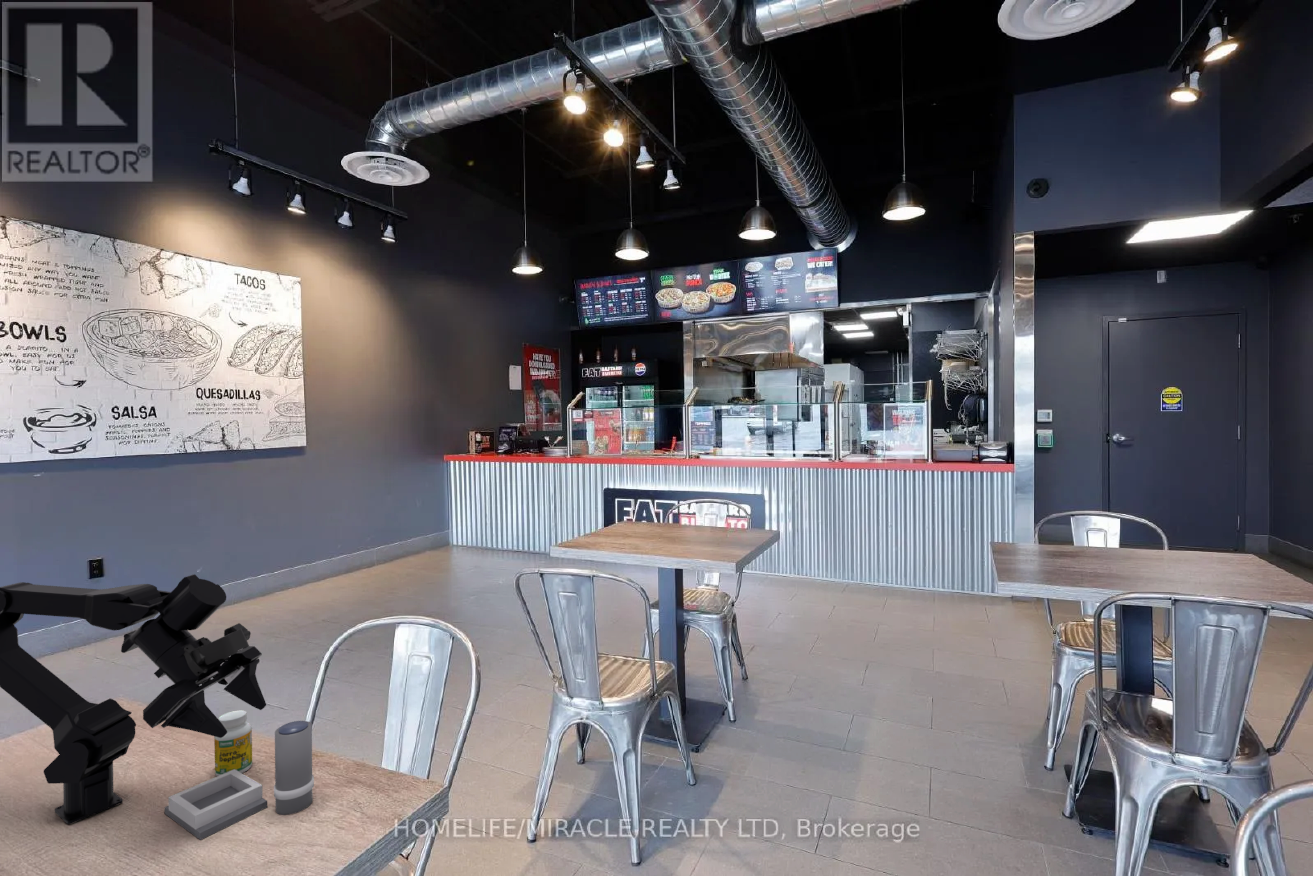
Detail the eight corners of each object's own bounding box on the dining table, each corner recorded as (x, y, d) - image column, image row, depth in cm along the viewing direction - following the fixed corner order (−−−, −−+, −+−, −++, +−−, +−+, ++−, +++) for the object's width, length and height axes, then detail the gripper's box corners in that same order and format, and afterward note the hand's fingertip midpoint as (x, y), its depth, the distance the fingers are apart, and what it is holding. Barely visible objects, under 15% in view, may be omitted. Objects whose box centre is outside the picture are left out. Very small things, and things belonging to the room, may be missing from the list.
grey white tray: (164, 813, 93) (164, 794, 93) (230, 784, 101) (229, 766, 101) (200, 840, 87) (200, 819, 87) (267, 807, 95) (267, 788, 95)
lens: (267, 808, 94) (266, 729, 94) (302, 791, 99) (301, 715, 99) (285, 819, 92) (284, 738, 92) (321, 801, 96) (320, 723, 96)
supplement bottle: (252, 758, 109) (251, 705, 109) (252, 772, 105) (251, 716, 105) (215, 768, 106) (214, 713, 106) (213, 782, 102) (213, 725, 102)
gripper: (164, 633, 86) (242, 711, 86) (250, 598, 105) (314, 662, 105) (107, 688, 86) (185, 767, 86) (204, 643, 104) (268, 708, 105)
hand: (245, 720), depth 95 cm, fingers open, 9 cm apart
